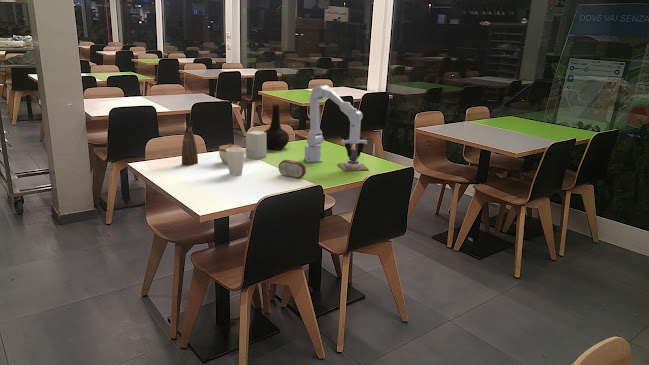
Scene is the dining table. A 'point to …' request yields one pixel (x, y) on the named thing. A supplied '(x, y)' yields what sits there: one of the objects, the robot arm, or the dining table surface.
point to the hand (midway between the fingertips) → (353, 156)
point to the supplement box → (256, 144)
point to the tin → (292, 169)
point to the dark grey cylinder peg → (353, 154)
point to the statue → (189, 147)
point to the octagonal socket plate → (352, 166)
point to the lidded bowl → (223, 152)
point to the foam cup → (235, 160)
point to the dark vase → (276, 131)
